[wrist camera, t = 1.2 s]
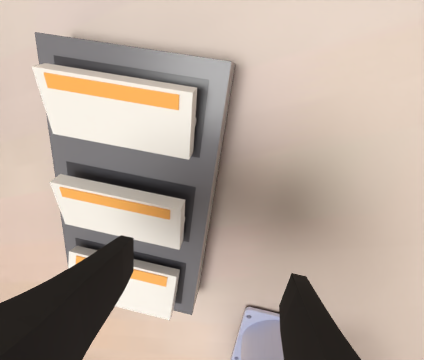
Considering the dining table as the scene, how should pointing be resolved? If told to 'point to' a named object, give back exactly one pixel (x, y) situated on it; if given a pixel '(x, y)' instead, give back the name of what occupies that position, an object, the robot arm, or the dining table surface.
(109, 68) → the switch panel
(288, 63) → the dining table surface
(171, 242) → the rocker middle
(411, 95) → the dining table surface
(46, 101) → the rocker
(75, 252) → the rocker
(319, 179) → the dining table surface
